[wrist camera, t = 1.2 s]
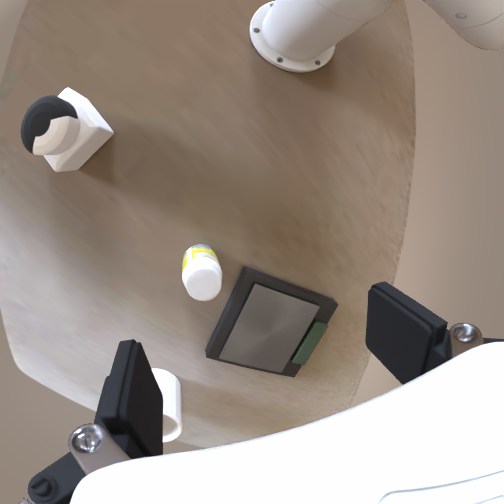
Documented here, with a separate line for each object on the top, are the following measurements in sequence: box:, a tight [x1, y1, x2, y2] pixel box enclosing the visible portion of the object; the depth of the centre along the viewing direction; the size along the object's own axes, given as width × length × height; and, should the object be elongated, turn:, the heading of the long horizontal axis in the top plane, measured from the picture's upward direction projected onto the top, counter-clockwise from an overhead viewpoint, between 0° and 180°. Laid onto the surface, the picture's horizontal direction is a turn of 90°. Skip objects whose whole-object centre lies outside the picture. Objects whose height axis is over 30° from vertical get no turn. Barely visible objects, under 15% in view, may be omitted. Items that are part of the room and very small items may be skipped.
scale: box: [205, 266, 338, 377], centre depth 43 cm, size 15×16×3 cm
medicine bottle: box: [21, 88, 114, 172], centre depth 25 cm, size 7×7×12 cm
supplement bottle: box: [182, 245, 222, 301], centre depth 35 cm, size 5×5×8 cm
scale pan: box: [218, 282, 320, 373], centre depth 42 cm, size 13×11×1 cm
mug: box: [152, 369, 183, 442], centre depth 39 cm, size 8×12×10 cm, turn 5°
